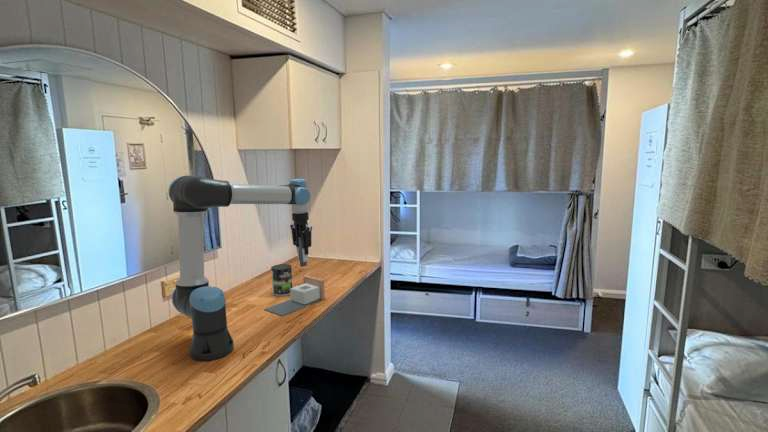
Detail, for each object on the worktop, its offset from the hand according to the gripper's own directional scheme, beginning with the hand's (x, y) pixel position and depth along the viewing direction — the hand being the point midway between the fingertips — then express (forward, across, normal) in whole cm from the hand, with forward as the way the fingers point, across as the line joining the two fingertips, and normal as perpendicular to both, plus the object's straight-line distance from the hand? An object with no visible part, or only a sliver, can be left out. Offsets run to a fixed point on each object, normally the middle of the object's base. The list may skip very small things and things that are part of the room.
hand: (303, 260), depth 196 cm
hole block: (+21, +2, -2) cm, 21 cm away
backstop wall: (+21, +2, -8) cm, 23 cm away
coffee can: (+22, +21, -2) cm, 30 cm away
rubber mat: (+21, +2, +4) cm, 22 cm away
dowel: (+3, 0, 0) cm, 3 cm away
